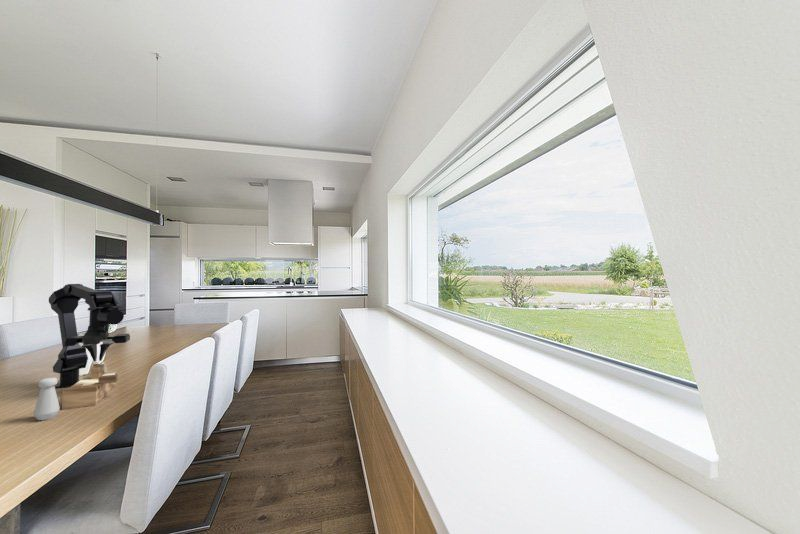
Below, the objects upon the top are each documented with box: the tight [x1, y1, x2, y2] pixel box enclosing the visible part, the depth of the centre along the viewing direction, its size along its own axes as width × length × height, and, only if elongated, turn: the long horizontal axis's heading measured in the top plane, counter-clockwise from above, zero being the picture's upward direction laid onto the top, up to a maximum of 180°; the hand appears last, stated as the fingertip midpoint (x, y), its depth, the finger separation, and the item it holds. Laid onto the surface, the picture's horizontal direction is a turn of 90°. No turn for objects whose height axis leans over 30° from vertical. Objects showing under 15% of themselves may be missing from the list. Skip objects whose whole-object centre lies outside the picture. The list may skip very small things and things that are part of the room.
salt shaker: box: [33, 377, 61, 422], centre depth 106 cm, size 6×6×13 cm
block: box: [98, 373, 119, 384], centre depth 122 cm, size 2×5×2 cm, turn 117°
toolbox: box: [61, 372, 118, 411], centre depth 123 cm, size 22×9×7 cm, turn 27°
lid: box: [74, 364, 117, 386], centre depth 126 cm, size 17×9×6 cm, turn 27°
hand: (97, 360), depth 128 cm, fingers closed
